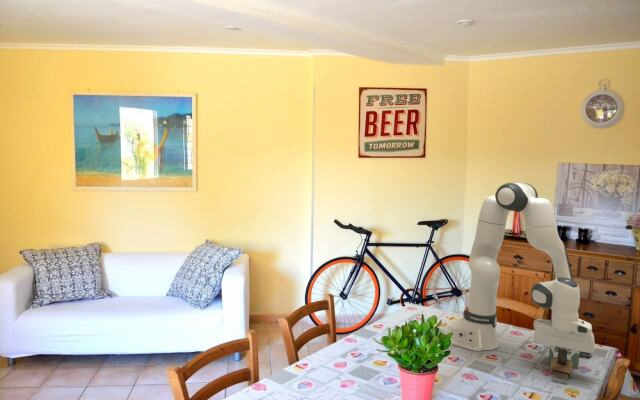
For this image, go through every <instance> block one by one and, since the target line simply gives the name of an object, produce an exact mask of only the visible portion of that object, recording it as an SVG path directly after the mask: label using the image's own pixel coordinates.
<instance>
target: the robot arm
mask: <svg viewBox="0 0 640 400" xmlns="http://www.w3.org/2000/svg"><path fill="white" fill-rule="evenodd" d="M510 212H516V213H521V214H522V215H523V218H524V225H525V237H526V240H527V242H528V243H529V244H530V246H532V247H533V248H534V249H536V250H539V251H541V252H544V253H545V254H547V255H548V256H549V257H550V260H551V262H552V266H553V270H554V275H555V279H553V280H550V281H541V282H536V283H535V284H533V285H532V287H531V288H530V289H531V290H530V297H531V300H532V302H533V303H534V304H535V305H536V306H537V307H540V308H542V309H543V308H544V309H550V310H551V319H543V318H540V317H538V318H536V319H535V320H533V328H534V333H533V341H534V343H536V344H541V345H546V346H550V345H551V350H552V352H553V353H554V355H553V357H554V358H558V352H556V351H555V346H556V347H561V348H566V349H571V353H570V354H567V360H569V361H571V357H572V356H573V355H574V353H575V350H577V351H582V352H587V353H591V354H593V353H595V350H596V349H595V347H596V346H595V335H594V332H593V331H592V330H593V326H592V323H590V322H588V321H585V320H583V319H581V318H579V317H580V314H579V308H580V303H581V291H580V290H581V289H580V284H578V282H577V281H575V280H574V277H573V273H572V268H571V265H570V260H569V255H568V251H567V248H566V245H565V242H564V241H563V240H561V237H560V235H559V231H558V225H557V218H556V214H555V209H554V207H553V204H552V202H551V201H550V200H549V199H548V198H544V197H539V194H538V192H537V190H536V188H535V187H534V186H532V185H531V184H530V183H526V182H525V183H524V182H518V181H517V182H506V183H503V184H502V185H500V186H499V187H498V188H497V189H496V192H495V194H493V195H488V196H487V197H485V198H484V199H483V202H482V205H481V207H480V210H479V215H478V219H477V224H476V229H475V235H474V240H473V244H472V247H471V250H470V254H469V255H470V256H469V259H468V268H469V270H470V272H471V277H470V287H469V291H468V306H466V307H465V308H464V310H463V312H462V316H463V317H461V318H459V319H458V320H456V321H454V322H453V323H452V324H451V325H450V327H449V331H447V332H445V334H447V333H449V332H453V336H452V344H451V345H454V346H457V347H460V348H463V349H465V350H466V349H467V350H471V351H474V352H481V351H491V350H496V349H497V348H498V347H499V343H498V338H497V323H498V315H497V295H498V294H497V293H498V290H499V286H500V285H499V284H500V279H501V278H500V277H501V267H500V265H499V263H498V262H497V261H498V260H497V259H498V256H499V252H500V249H501V247H502V245H503V243H504V242H503V241H504V238H505V232H506V226H507V220H508V216H509V214H510Z"/></svg>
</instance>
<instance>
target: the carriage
mask: <svg viewBox="0 0 640 400" xmlns="http://www.w3.org/2000/svg"><path fill="white" fill-rule="evenodd" d="M573 369H574V368H573V362H569V361H567V350H565V349H558V359H554V358H552V361H551V363H550V374H553V370H556V371H561V372H565V373H569V377H568V378H572V375H573Z"/></svg>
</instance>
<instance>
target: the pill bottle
mask: <svg viewBox="0 0 640 400" xmlns="http://www.w3.org/2000/svg"><path fill="white" fill-rule="evenodd" d="M579 358H583V359H590V358H592V353H587V352H582V351H579Z"/></svg>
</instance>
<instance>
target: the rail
mask: <svg viewBox="0 0 640 400" xmlns="http://www.w3.org/2000/svg"><path fill="white" fill-rule="evenodd" d="M551 374H552V375H551V382H553V383H558V384H563V385H566V386H567V385H568V382H569V378H570V377H569V373H565V372H561V371H556V370H553V372H552V373H551Z"/></svg>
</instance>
